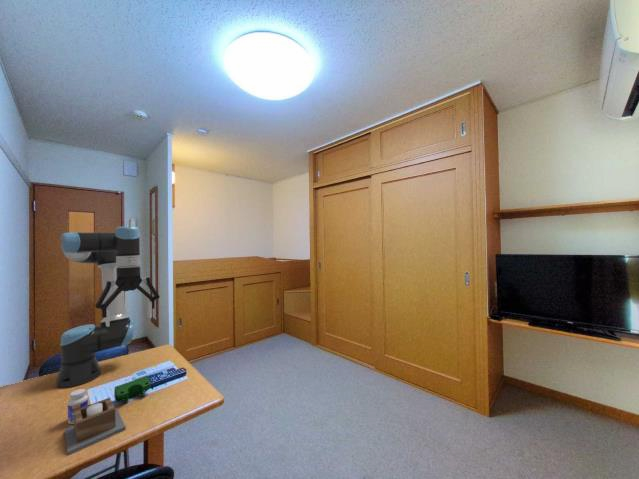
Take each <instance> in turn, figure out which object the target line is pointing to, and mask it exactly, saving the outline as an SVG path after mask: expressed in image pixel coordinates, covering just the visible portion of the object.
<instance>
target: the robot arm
mask: <svg viewBox="0 0 639 479" xmlns="http://www.w3.org/2000/svg"><path fill="white" fill-rule="evenodd" d="M140 237H141V235H140V229H139V228H138V227H137V226H117V227H116V228H115V232H76V231H73V232H64V233H61V251H62V252H63V255H64V257H65V258H66V259H67V260H68V261H71V262H75V263H79V264H97V266H96V267H97V268H99V269H100V270H101V289H102V292H101V294H100V295H99V298H98V299H97V300H96V303H95V304H94V307H95V308H96V309H101V317H102V318H103V319H101V321H100V322H99V324H100V325H99V326H96V325H95V324H94V323H92V324H91V323H90V324H83V325H80V326H76V327H73V328H70V329H68V330H67V331H64V332H63V333H62V335H61V336H60V344H59V346H60V354H61V355H60V357H61V359H60V363H61V367H60V369H59V372H58V374H57V377H56V379H55V380H56V381H55V383H56V384H55V385H56V387H57V388H59V389H60V388H61V389H63V388H73V387H77V386H81V385H84V384H86V383H89V382H93V381H94V380H95V379H97V378H98V377H99V376H100V375H101V373H102V372H101V371H102V368H101V366H100V364H99V362H98V360H97V358H96V354H97V353H98V352H103V351H107V350H110V349H111V350H112V349H115V348H121V347H123V346H127V345H129V344H131V342H133V338H134V334H135V333H134V331H135V323H134V320H132V319H130V316H129V315H127V313H126V300H125V292H128V291H135V290H138V291H139V292H140V293H141V294H142V295H144V296H145V297H146V298H147V299H149V300H147V318H149V319H152V318H153V309H156V308H155V304H156V302H155V301H156V300H158V299H160V297H161V296H160V295H159V293H158V292H157V290H156V288H155V287H154V286H153V283H151V282H152V281H151V278H150V277H149V276H145V277H142V276H141V267H140V265H141V256H140V255H141V254H140V252H141V251H140V248H141V246H140ZM141 283H143V284H146V286H147V288H148V289H149V291H150V292H151V294H152V295H153V296H152V295H151V294H150V293H149V292H147V291H146V290H145V289H144V288H143V287H142V286H141Z"/></svg>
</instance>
